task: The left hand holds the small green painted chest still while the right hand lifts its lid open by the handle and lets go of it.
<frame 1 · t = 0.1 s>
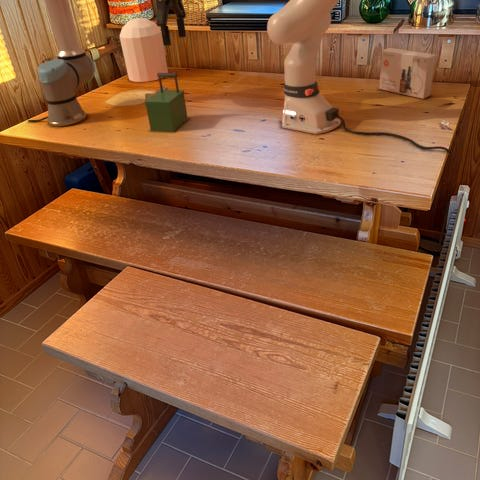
left hand: (175, 41, 175), 28 cm above the table, tool pointing down, fingers open, 13 cm apart
container: (148, 76, 243), on the table
skincare box: (403, 93, 189), on the table
chest: (169, 124, 181), on the table
lid: (163, 87, 173), point 14 cm above the table, hinge at 0.0°
rock: (158, 101, 207), on the table
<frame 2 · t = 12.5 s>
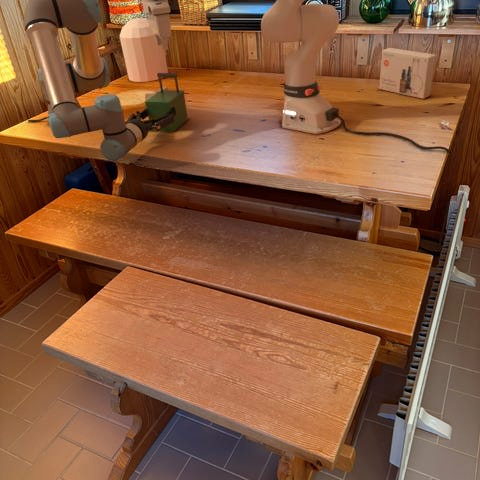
left hand: (162, 110, 174), 7 cm above the table, tool horizontal, fingers closed on chest, 10 cm apart
right hand: (162, 47, 169), 28 cm above the table, tool pointing down, fingers open, 8 cm apart
chest: (169, 124, 181), on the table, touching left hand
everything else where it was.
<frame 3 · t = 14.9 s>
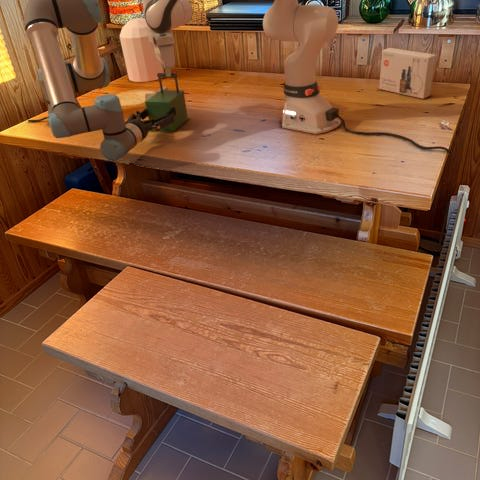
left hand: (162, 110, 174), 7 cm above the table, tool horizontal, fingers closed on chest, 10 cm apart
right hand: (167, 74, 174), 18 cm above the table, tool pointing down, fingers closed on lid, 3 cm apart
chest: (169, 124, 181), on the table, touching left hand
lid: (163, 87, 173), point 14 cm above the table, hinge at -0.2°, touching right hand
everything else where it was.
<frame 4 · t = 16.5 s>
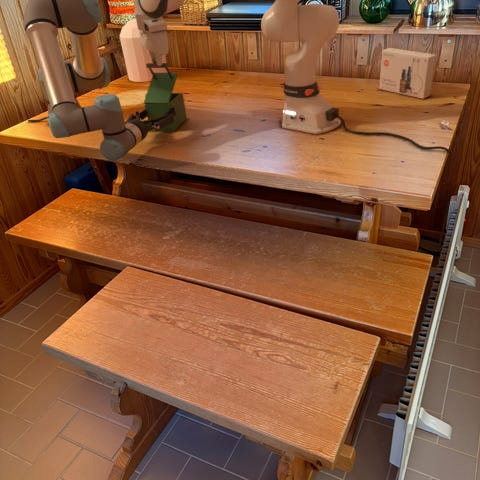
left hand: (161, 110, 174), 7 cm above the table, tool horizontal, fingers closed on chest, 10 cm apart
right hand: (157, 64, 167), 23 cm above the table, tool pointing down, fingers closed on lid, 3 cm apart
chest: (168, 124, 181), on the table, touching left hand
lid: (157, 81, 169), point 18 cm above the table, hinge at 31.6°, touching right hand
everything else where it was.
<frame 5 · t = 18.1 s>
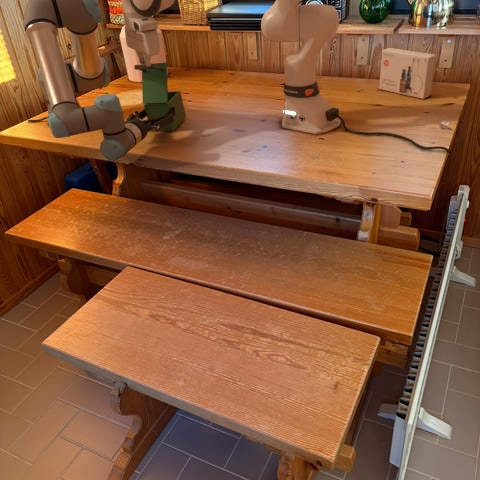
left hand: (161, 110, 174), 7 cm above the table, tool horizontal, fingers closed on chest, 10 cm apart
right hand: (145, 64, 161), 25 cm above the table, tool pointing down, fingers closed on lid, 3 cm apart
chest: (168, 123, 181), on the table, touching left hand
lid: (150, 81, 165), point 19 cm above the table, hinge at 59.8°, touching right hand
everything else where it was.
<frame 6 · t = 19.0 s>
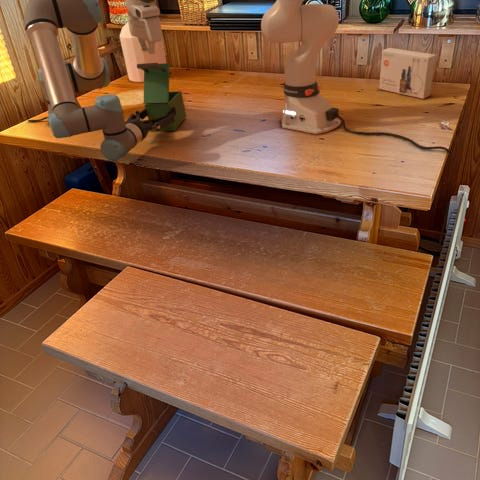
left hand: (161, 110, 174), 7 cm above the table, tool horizontal, fingers closed on chest, 10 cm apart
right hand: (148, 52, 161), 28 cm above the table, tool pointing down, fingers open, 5 cm apart
chest: (169, 123, 181), on the table, touching left hand
lid: (151, 81, 165), point 19 cm above the table, hinge at 56.2°
everything else where it was.
when the left hand's fingers open (7 cm above the table, at t = 22.0 s): chest stays where it is, on the table.
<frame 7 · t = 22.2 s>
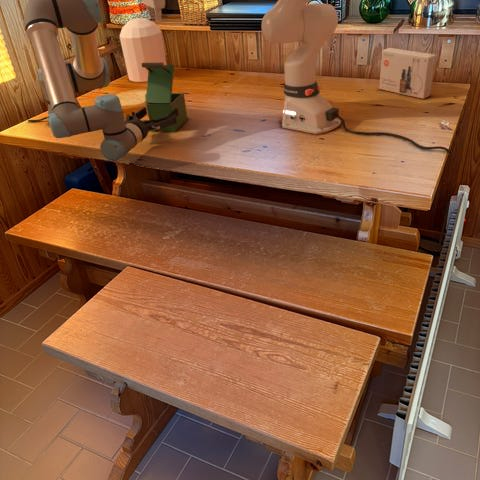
left hand: (161, 111, 173), 7 cm above the table, tool horizontal, fingers open, 13 cm apart
right hand: (155, 20, 162), 37 cm above the table, tool pointing down, fingers open, 8 cm apart
chest: (169, 124, 181), on the table
lid: (155, 80, 166), point 19 cm above the table, hinge at 53.8°
everything else where it was.
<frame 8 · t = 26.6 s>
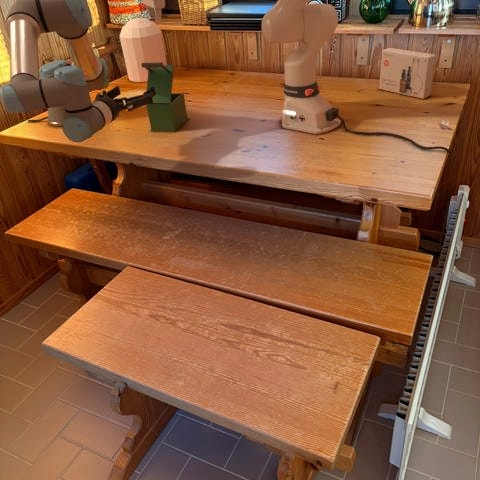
left hand: (136, 90, 156), 19 cm above the table, tool horizontal, fingers open, 13 cm apart
right hand: (155, 20, 162), 37 cm above the table, tool pointing down, fingers open, 8 cm apart
nothing on the table moved.
at the end: lid at +54° (first picture: +0°); the left hand is holding nothing; the right hand is holding nothing; chest tilted 0°; chest never tilted more than 4° during the clip; chest moved 0.1 cm from its start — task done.
